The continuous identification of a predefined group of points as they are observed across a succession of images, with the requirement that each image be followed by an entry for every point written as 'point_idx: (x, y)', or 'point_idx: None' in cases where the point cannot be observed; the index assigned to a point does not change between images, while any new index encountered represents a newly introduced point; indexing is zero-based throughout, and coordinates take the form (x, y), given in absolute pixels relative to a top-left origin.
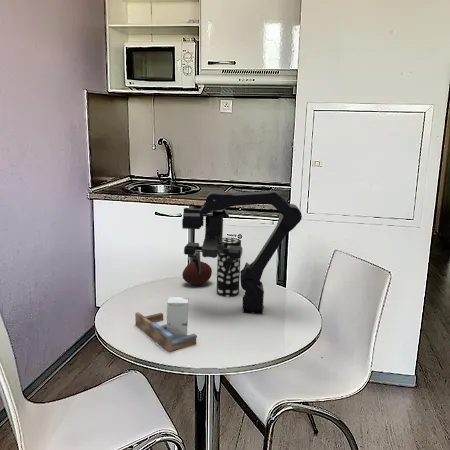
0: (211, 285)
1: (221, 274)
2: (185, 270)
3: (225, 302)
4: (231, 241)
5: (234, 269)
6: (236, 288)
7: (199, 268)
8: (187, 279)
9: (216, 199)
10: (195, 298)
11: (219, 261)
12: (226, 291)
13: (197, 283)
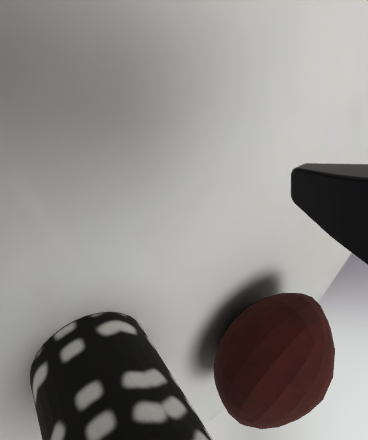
0: (189, 356)
1: (154, 411)
2: (325, 321)
3: (28, 267)
4: None
5: None
6: (39, 403)
7: (358, 196)
8: (285, 297)
9: None
10: (194, 208)
11: None
12: (78, 344)
13: (239, 316)
